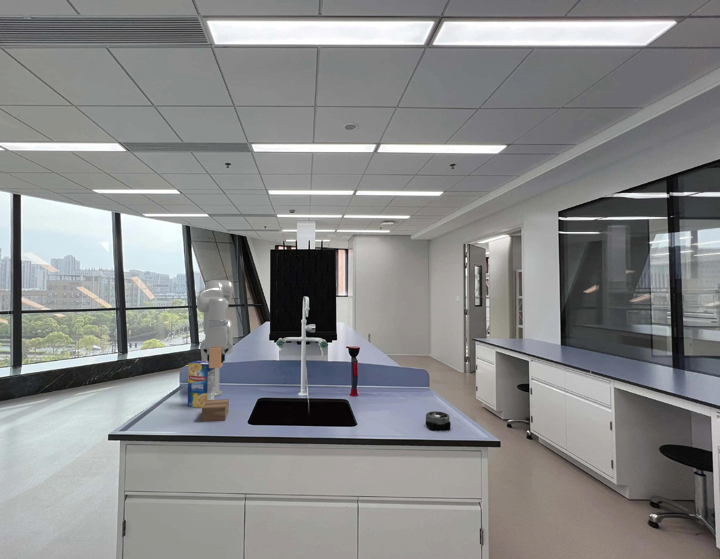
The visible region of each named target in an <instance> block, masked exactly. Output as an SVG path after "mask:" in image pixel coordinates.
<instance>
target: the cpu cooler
mask: <svg viewBox="0 0 720 559" xmlns="http://www.w3.org/2000/svg"><path fill="white" fill-rule="evenodd" d="M425 425H426V427H427V428H428V430H429V431H435V432H436V431H450V430H451V421H450V414H448V413H446V412H444V411H435V410H434V411H428V412H426V413H425Z"/></svg>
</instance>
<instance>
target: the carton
mask: <svg viewBox="0 0 720 559" xmlns="http://www.w3.org/2000/svg"><path fill="white" fill-rule="evenodd" d="M221 355H222V350H221V348H210V349H209V368H219V369H221V368H222V367H223V366H224V365H223V363H224V362H223V363H221Z"/></svg>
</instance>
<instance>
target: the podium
mask: <svg viewBox="0 0 720 559" xmlns="http://www.w3.org/2000/svg"><path fill="white" fill-rule="evenodd" d="M229 402H230V399H229V398H224V399H214V400H207V401H206V403H205V405H204V406H203V408H201V422H202V423H205V422H206V423H207V422H210V423H211V422H222V421H223V422H224V421H226V419H227V416H228V414H229V411H230V410H229V409H230V407H229V404H230V403H229Z"/></svg>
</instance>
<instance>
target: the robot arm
mask: <svg viewBox="0 0 720 559" xmlns="http://www.w3.org/2000/svg"><path fill="white" fill-rule="evenodd" d="M233 294H234V285H233V283H232V281H230V280H228V279H226V280H225V279H224V280H223V279H221V280H220V279H211V280H208V282H206V284H205V286H204V288H203V289H200V290H199V292H198V295H197V297H196V307H197V310H198V312H199V313H203V329H202V330H203V334H204V335H205V337H204V339H202V341H201V342H200V345H199V349H200V353H201V361H209V349H210V348H221V350H222V355H221V363H224V362H225V361H226V355H230V354H232V352H233V349H234V335H233V334H234V332H233V330H234V328H233V322H232V320H231V319H229V318H226V312H227V310H228V309H229V303H231V301H232V299H233V298H232V297H233ZM222 394H223V391H222V389H220V368H215V397H217V396H219V395H222Z"/></svg>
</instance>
